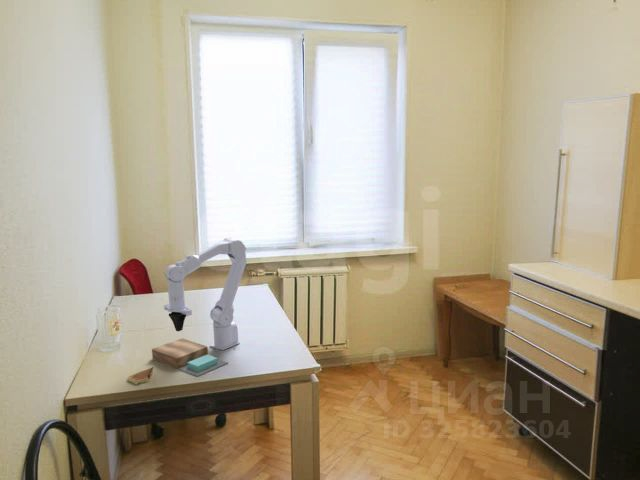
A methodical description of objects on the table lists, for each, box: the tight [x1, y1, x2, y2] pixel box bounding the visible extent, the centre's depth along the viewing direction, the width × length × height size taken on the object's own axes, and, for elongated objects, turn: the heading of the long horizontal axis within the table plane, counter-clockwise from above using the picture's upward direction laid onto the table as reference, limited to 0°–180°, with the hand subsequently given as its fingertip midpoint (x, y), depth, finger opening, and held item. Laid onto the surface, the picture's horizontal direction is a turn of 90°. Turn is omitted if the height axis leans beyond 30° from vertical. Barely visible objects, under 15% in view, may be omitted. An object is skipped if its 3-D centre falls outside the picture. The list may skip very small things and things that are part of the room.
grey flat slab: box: [177, 358, 229, 378], centre depth 183 cm, size 14×11×1 cm
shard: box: [126, 366, 154, 385], centre depth 176 cm, size 11×8×2 cm
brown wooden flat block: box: [151, 337, 209, 370], centre depth 192 cm, size 14×16×4 cm
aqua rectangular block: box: [187, 354, 219, 371], centre depth 183 cm, size 9×6×2 cm, turn 141°
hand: (179, 330), depth 192 cm, fingers closed
